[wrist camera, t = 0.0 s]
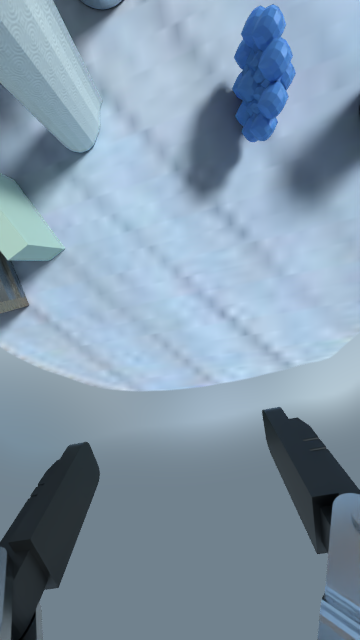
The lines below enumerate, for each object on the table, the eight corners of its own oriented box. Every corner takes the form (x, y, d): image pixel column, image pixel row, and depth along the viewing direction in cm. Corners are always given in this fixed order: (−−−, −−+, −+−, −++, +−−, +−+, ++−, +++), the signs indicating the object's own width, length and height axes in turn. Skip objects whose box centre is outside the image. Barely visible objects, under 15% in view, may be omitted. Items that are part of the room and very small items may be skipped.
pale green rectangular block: (-2, 194, 34) (-66, 170, 25) (14, 180, 33) (-46, 151, 24) (49, 260, 36) (8, 260, 28) (65, 248, 36) (27, 244, 27)
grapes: (278, 156, 32) (333, 95, 20) (233, 167, 32) (261, 114, 21) (269, 58, 29) (327, -79, 17) (220, 72, 29) (244, -52, 18)
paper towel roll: (61, 155, 32) (-155, -36, 11) (53, 106, 31) (-216, -219, 10) (109, 151, 32) (-24, -51, 11) (103, 101, 30) (-66, -240, 10)
